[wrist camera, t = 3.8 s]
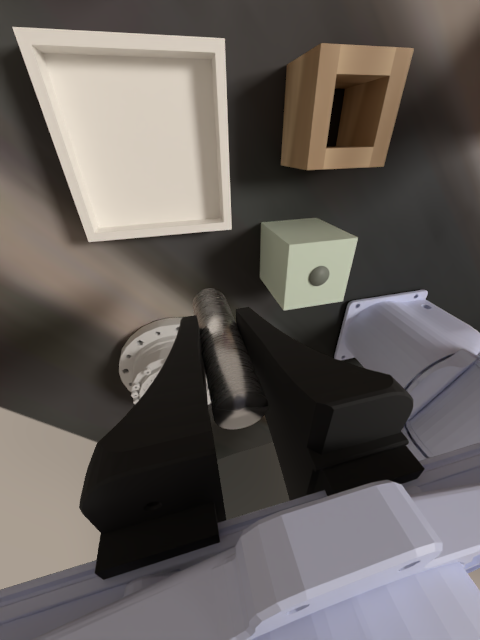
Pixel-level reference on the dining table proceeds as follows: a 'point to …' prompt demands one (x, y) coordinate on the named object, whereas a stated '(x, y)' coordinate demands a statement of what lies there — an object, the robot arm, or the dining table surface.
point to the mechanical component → (147, 355)
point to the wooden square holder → (357, 110)
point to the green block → (305, 261)
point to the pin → (227, 364)
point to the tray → (136, 128)
